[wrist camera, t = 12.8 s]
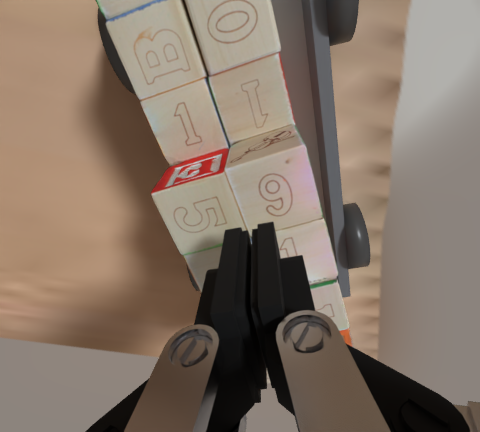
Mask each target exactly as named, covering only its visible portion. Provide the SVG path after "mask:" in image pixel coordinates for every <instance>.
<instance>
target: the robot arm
mask: <svg viewBox="0 0 480 432" xmlns="http://www.w3.org/2000/svg"><path fill="white" fill-rule="evenodd" d="M257 227H258V228H257V229H252V244H251V240H250V236H249V232H248V230H245V231H242V228H241V227H239V228H233V229H227V230H225V233H224V238H223V244H222V250H221V255H220V261H219V266H218V268H217V269H210V270H208V271H207V272H206V276H205V280H204V284H203V289H202V293H201V297H200V302H199V306H198V310H197V315H196V319H195V323H194V325H191V326H188V327H186V328H183V329H181V330H180V331H178V332H177V333H175V334H174V335H173V336H172V337H171V338H170V339H169V340H168V342H167V343H166V345H165V347H164V349H163V351H162V353H161V355H160V357H159V359H158V361H157V363H156V365H155V367H154V370H153V372H152V374H151V376H150V378H149V379H148V380H147V381H145V382H144V383H143V384H142V385H141V386H139V387H138V388H137V389H136V390H135V391H133V392H132V393H131V394H130V395H128V396H127V397H126V398H125V399H123V400H122V401H121V402H120V403H119V404H117V405H116V406H115V407H114V408H113V409H111V410H110V411H109V412H108V413H106V414H105V415H104V416H103V417H102V418H100V419H99V420H98V421H97V422H96V423H94V424H93V425H92V426H91V427H90V428H89V429H88V430H87V431H86V432H245V431H246V413H247V412H248V411H249V410H250V409H251V408H252V407H253V405H254V403H259V402H261V389H267V371H268V375H269V379H270V382H271V386H272V388H275V391H276V394H277V398H278V402H279V403H280V404H281V405H282V406H284V407H285V408H286V409H287V410H288V411H290V412H291V413H292V414H293V415H294V416H295V420H296V424H297V427H298V431H299V432H480V402H473V401H468V404H467V406H462V405H453V404H452V403H451V402H449V401H448V400H447V399H445V398H444V397H442V396H441V395H439V394H438V393H436V392H434V391H432V390H430V389H428V388H426V387H425V386H423V385H421V384H419V383H417V382H416V381H414V380H412V379H410V378H408V377H406V376H405V375H403V374H401V373H399V372H397V371H395V370H394V369H392V368H390V367H388V366H386V365H384V364H383V363H381V362H379V361H377V360H375V359H374V358H372V357H370V356H368V355H366V354H364V353H363V352H361V351H359V350H357V349H355V348H353V347H352V346H350V345H348V344H346V343H345V341H344V339H343V337H342V335H341V333H340V332H339V330H338V328H337V326H336V324H335V323H334V322H333V320H332V319H331V318H329V317H328V316H327V315H325V314H323V313H320V312H317V311H315V306H314V302H313V298H312V294H311V289H310V285H309V281H308V276H307V272H306V268H305V264H304V259H303V256H302V255H299V256H293V257H287V258H281V257H280V252H279V247H278V242H277V237H276V232H275V227H274V222H267V223H262V224H258V225H257ZM266 368H267V369H266Z"/></svg>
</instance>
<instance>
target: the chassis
mask: <svg viewBox="0 0 480 432" xmlns="http://www.w3.org/2000/svg"><path fill="white" fill-rule="evenodd" d="M271 3H272V7H273V12H274V17H275V21H276V26H277V30H278V35H279V40H280V44H281V51H280V57H281V61H282V66H283V70H284V75H285V79H286V84H287V88H288V92H289V97H290V101H291V105H292V110H293V114H294V119H295V123H296V127H297V129H298V131H299V133H300V135H301V137H302V139H303V141H304V143H305V145H306V147H307V151H308V156H309V160H310V164H311V168H312V171H313V176H314V180H315V184H316V188H317V192H318V196H319V200H320V204H321V208H322V214H323V217H324V220H325V222H326V225H327V229H328V233H329V237H330V241H331V245H332V249H333V253H334V257H335V261H336V264H337V269H338V276H337V280H338V283H339V287H340V290H341V294H342V297H349V296H350V285H349V273H348V269H352V268H359V267H365V266H368V265H369V263H370V245H369V238H368V233H367V229H366V225H365V221H364V218H363V215H362V213H361V211H360V209H359V207H358V205H357V204H356V203H350V204H345V205H343V201H342V189H341V177H340V165H339V153H338V141H337V129H336V117H335V105H334V93H333V81H332V69H331V57H330V46H332V45H336V44H340V43H345V42H348V41H350V40H351V39H352V37H353V35H354V32H355V28H356V23H357V16H358V4H359V0H271ZM98 25H99V31H100V35H101V39H102V42H103V46H104V48H105V51H106V54H107V56H108V59H109V61H110V63H111V65H112V67H113V69H114V71H115V73H116V75H117V76H118V78H119V79H120V81H121V82H122V84H123V85H124V86H125V87H126V88H127V89H128V90H129V91H130V92H132V93H134V94H136V93H135V91H134V88H133V86H132V83H131V81H130V79H129V77H128V74H127V72H126V70H125V68H124V66H123V64H122V61H121V59H120V57H119V55H118V52H117V50H116V48H115V45H114V43H113V41H112V39H111V37H110V35H109V32H108V30H107V27H106V19H105V17H104V15H103V14H102V12H101V11H100V8H99V9H98ZM187 269H188V273H189V277H190V280H191V282H192V284H193V286H194V288H195V289H196V290H197V291H200V290H199V287H198V285H197V284H196V282H195V280H194V278H193V276H192V274H191V272H190V270H189V268H188V265H187Z"/></svg>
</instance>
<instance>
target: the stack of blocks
mask: <svg viewBox="0 0 480 432" xmlns="http://www.w3.org/2000/svg"><path fill="white" fill-rule="evenodd" d="M96 2H97V4H98V6H99V8H100V11H101V12H102V14H103V15H104V17H105V19H106V27H107V30H108V32H109V35H110V37H111V39H112V41H113V43H114V45H115V48H116V50H117V52H118V55H119V57H120V59H121V61H122V64H123V66H124V68H125V70H126V72H127V74H128V77H129V79H130V81H131V83H132V86H133V88H134V91H135V93H136V95H137V97H138V98H139V100H140V103H141V107H142V109H143V112H144V114H145V116H146V118H147V121H148V123H149V125H150V127H151V130H152V132H153V134H154V136H155V138H156V140H157V142H158V144H159V147H160V149H161V151H162V153H163V155H164V157H165V159H166V160H167V162H168V163H169V164H170V166H171V167H169V168H168V169H167V170H166V171H165V172H164V174H163V176H162V177H161V179H160V180H159V181H158V183H157V184H156V186H155V187H154V188H153V190H152V192H151V196H152V198H153V201H154V203H155V205H156V207H157V208H158V210H159V212H160V214H161V216H162V218H163V220H164V222H165V224H166V226H167V228H168V230H169V232H170V234H171V236H172V238H173V240H174V242H175V244H176V246H177V248H178V250H179V252H180V254H182V255H183V256H184V259H185V261H186V263H187V265H188V268H189V270H190V272H191V274H192V276H193V278H194V280H195V282H196V284H197V285H198V287H199V290H200V292H201V293H202V289H203V284H204V280H205V276H206V272H207V271H208V270H210V269H217V268H218V266H219V261H220V255H221V250H222V244H223V238H224V233H225V230H227V229H233V228H239V227H241V228H242V231H245V230H248V232H249V236H250V240H251V244H252V229H257V228H258V227H257V225H258V224H262V223H267V222H274V227H275V232H276V237H277V242H278V247H279V252H280V257H281V258H287V257H293V256H299V255H302V256H303V259H304V264H305V268H306V272H307V276H308V281H309V285H310V289H311V294H312V298H313V302H314V306H315V311H317V312H320V313H323V314H325V315H327V316H328V317H329V318H331V319H332V320H333V322H334V323H335V324H336V326H337V328H338V330H339V332H340V333H341V335H342V337H343V339H344V341H345V343H346V344H348V345H350V346H352V347H353V343H352V339H351V334H350V330H349V326H350V325H349V321H348V317H347V314H346V310H345V306H344V302H343V298H342V294H341V290H340V287H339V283H338V280H337V276H338V269H337V264H336V261H335V257H334V253H333V249H332V245H331V241H330V237H329V233H328V229H327V225H326V222H325V220H324V217H323V214H322V208H321V204H320V200H319V196H318V192H317V188H316V184H315V180H314V176H313V171H312V168H311V164H310V160H309V156H308V151H307V147H306V145H305V143H304V141H303V139H302V137H301V135H300V133H299V131H298V129H297V127H296V123H295V119H294V114H293V110H292V105H291V101H290V97H289V92H288V88H287V84H286V79H285V75H284V70H283V66H282V61H281V57H280V51H281V44H280V40H279V35H278V30H277V26H276V21H275V17H274V12H273V7H272V3H271V0H96ZM266 369H267V368H266ZM267 383H271V382H270V379H269V375H268V371H267Z"/></svg>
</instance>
